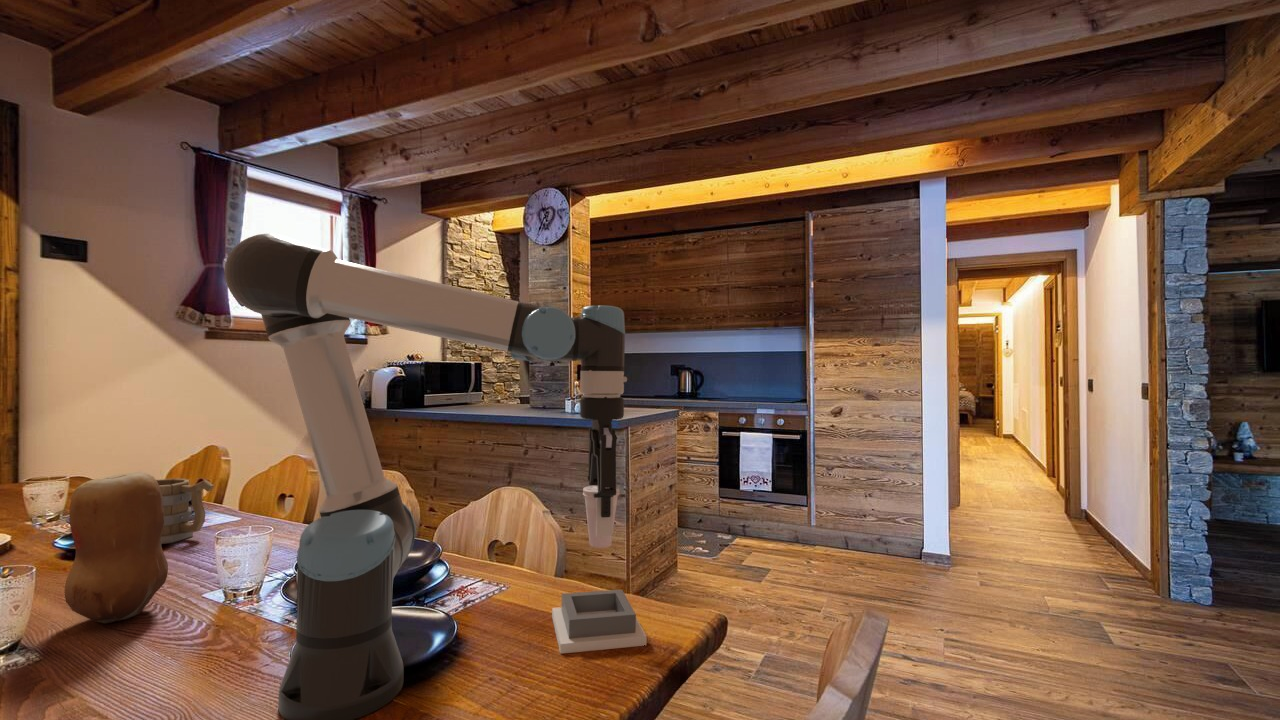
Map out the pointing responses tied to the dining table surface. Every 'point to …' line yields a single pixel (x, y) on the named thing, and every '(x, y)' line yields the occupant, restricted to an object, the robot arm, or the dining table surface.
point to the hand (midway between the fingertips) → (600, 529)
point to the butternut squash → (116, 547)
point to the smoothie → (591, 517)
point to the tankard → (181, 508)
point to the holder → (596, 622)
